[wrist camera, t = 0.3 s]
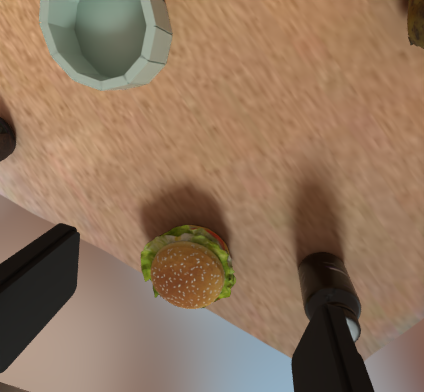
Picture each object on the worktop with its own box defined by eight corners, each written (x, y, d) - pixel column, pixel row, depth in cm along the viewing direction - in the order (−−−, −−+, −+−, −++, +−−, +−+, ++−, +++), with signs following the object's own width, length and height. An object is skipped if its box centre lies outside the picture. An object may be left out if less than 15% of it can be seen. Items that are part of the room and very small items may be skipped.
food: (227, 208, 43) (220, 233, 36) (243, 285, 48) (239, 322, 40) (142, 219, 46) (120, 244, 39) (165, 291, 51) (149, 326, 43)
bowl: (79, -45, 34) (44, -70, 29) (183, -10, 34) (167, -28, 28) (67, 69, 39) (35, 67, 34) (157, 101, 39) (139, 104, 33)
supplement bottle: (344, 248, 42) (372, 307, 31) (345, 287, 44) (372, 354, 33) (295, 252, 44) (306, 309, 33) (299, 289, 46) (310, 354, 35)
